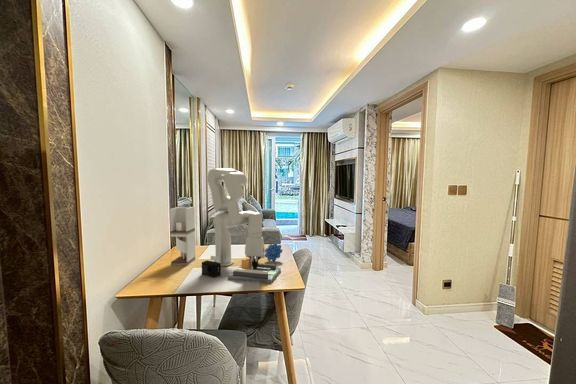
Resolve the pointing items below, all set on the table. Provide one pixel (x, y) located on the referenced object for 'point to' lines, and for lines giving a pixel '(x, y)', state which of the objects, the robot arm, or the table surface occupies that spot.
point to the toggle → (247, 263)
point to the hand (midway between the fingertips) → (255, 267)
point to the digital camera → (211, 268)
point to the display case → (183, 233)
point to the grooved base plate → (255, 271)
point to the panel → (271, 276)
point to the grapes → (273, 252)
